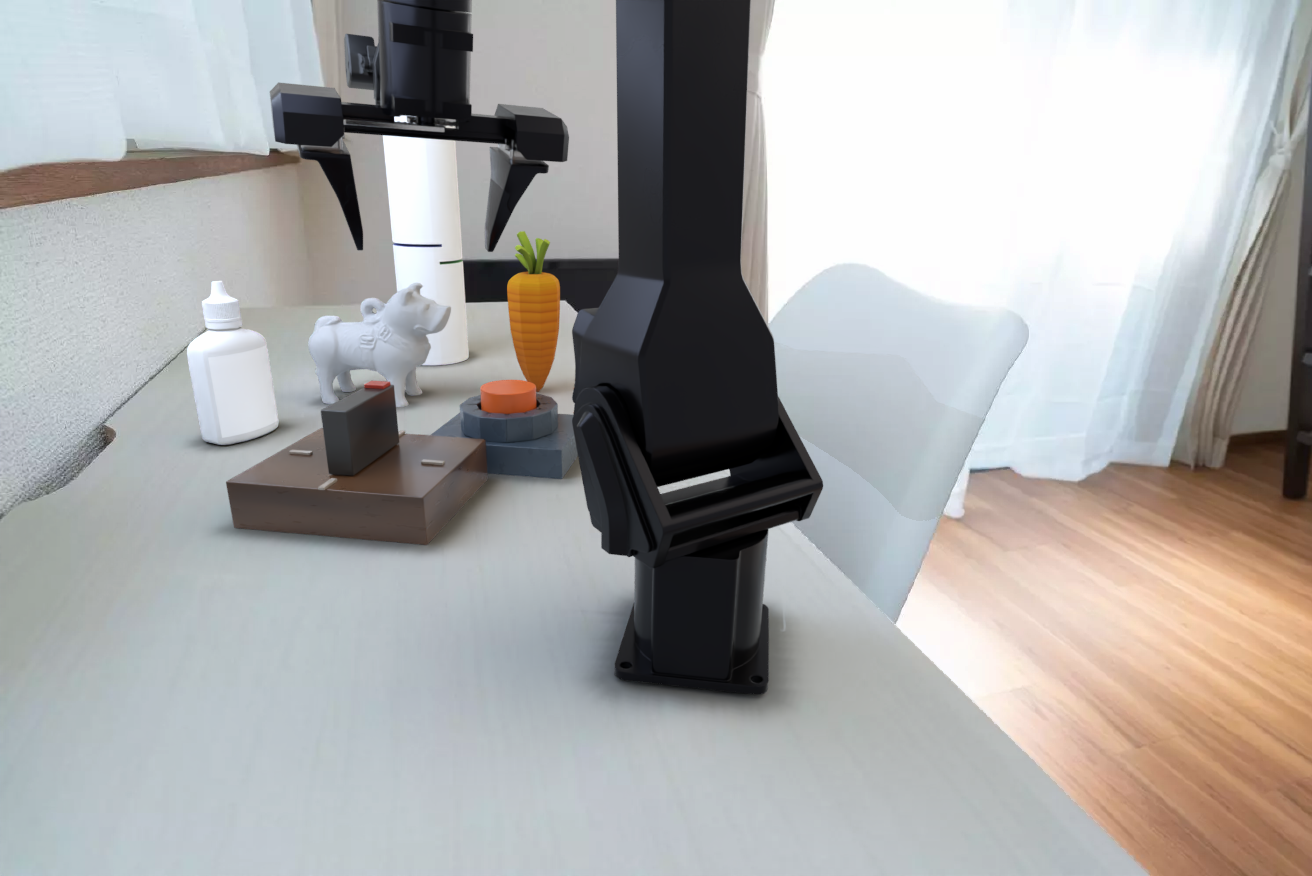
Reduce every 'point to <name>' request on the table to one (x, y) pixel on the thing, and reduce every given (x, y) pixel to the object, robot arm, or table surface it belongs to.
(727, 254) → the robot arm
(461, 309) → the cylindrical container
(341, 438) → the block
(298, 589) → the table surface
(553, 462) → the button box
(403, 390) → the dog figurine
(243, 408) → the eye dropper bottle
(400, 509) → the brown flat block
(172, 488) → the table surface
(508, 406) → the button
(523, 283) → the carrot
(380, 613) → the table surface
